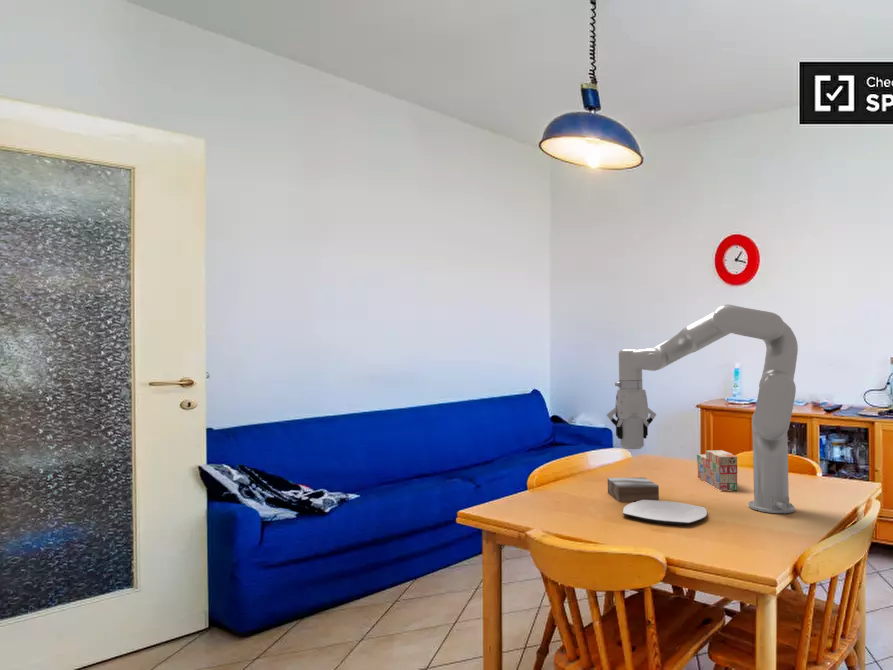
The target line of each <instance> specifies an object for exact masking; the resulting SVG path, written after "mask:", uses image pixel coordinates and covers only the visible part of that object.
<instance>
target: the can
mask: <svg viewBox="0 0 893 670" xmlns="http://www.w3.org/2000/svg"><path fill="white" fill-rule="evenodd" d="M621 427H622V439H620V446H621V447H622V448H623V449H626V450H641V449H642V448H643V447H644V444H645V441H644V439H645V438H644V433H643V420H642V419H641V417H639V416H637V413H634V414H632V416H630V417H628V418H627V419H626V420H623V422H622V424H621Z"/></svg>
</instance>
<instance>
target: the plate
mask: <svg viewBox="0 0 893 670" xmlns="http://www.w3.org/2000/svg"><path fill="white" fill-rule="evenodd" d="M622 514H623V515H626V516H630V517H632V518H635V519H639V520H642V521H646V522H653V523H661V524H667V523H668V524H669V525H679V526H680V525H687V524H691V523H694V522H698V521H700V520H703V519H704V518H706V517H707V515H708V512H707V509H706V507H703V506H698V505H695V504H694V505H693V504H689V503H684V502H678V501H669V500H667V501H665V500H659V501H657V500H640V501H636V502H630V503H628V504H626V505H625V506H624V507H623V509H622Z"/></svg>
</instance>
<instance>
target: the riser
mask: <svg viewBox="0 0 893 670" xmlns="http://www.w3.org/2000/svg"><path fill="white" fill-rule="evenodd" d="M659 487H660V486H659V484H657V483H655V482H653V481H652V480H650V479H648V478H647V477H607V493H608V494H609V495H610V496H611V497H613V498H614V499H615V500H616V501H617V502H619V503H623V502H624V503H625V502H626V503H627V502H628V503H629V502H630V503H633V502H632V501H640V500H657V501H660V496H659V495H660V494H659V493H660V489H659Z"/></svg>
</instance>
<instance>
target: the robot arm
mask: <svg viewBox="0 0 893 670" xmlns="http://www.w3.org/2000/svg"><path fill="white" fill-rule="evenodd" d="M730 334H734V335H738V336H743V337H748V338H754V339H758V340H762V341H763V342H764V344H765V346H766V353H765V358H764V364H763V369H762V375H761V378H760V381H759V382H758V383H759V384H758V394H757V400H756V405H755V410H754V412H753V414H752V418H751V426H752V427H751V428H752V461H753V463H752V465H753V467H752V468H753V500H751V501H748V507H749V508H750V509H752V510H753V511H754V510H755V511H757V510H758V511H757V512H763V513H768V514H769V513H771V514H791V513H794V512H795V511H796V507H795V505H794V504H792V503H791V502H790V496H789V495H790V494H789V493H790V490H789V485H790V484H789V446H788V445H789V444H788V431H789V429H790V424H791V419H792V414H793V409H794V404H795V399H796V392H797V390H796V387H797V386H796V384H795V383H796V382H795V381H794V380H795V373H796V368H797V367H796V366H797V359H798V353H799V352H798V351H799V350H798V349H799V346H798V341H797V337H796V335H795V334H794V331H793V329H792V328H791V327H790V326H789V325H788V324H787V323H786V322H785V321H784V319H782V317H781V315H779V314H777V313H774V312H772V311H766V310H760V309H754V308H749V307H744V306H740V305H734V304H723V305H721V306H719V307H717V308H716V309H715V310H714V311H712V312H710V313H708V314H706V315H705V316H703V317H701V318H700V319H698V320H696V321H693V322H692V323H690V324H688V325H687V326H685V327H683V328H682V329H681V330H680V331H679V332H678V333H677V334H675V335H674V336H672V337H670V338H669V339H667V340H665V341H664V342H662V343H660V344H658V345H656V346H654V347H650V348H644V349H643V348H642V349H639V348H622V349H620V350H619V351H618V381H617V382H614V386H615V387H618V389H617V391H616V397H615V407H614V408H613V409H611V410H610V411H609V412H608V413H607V414H606V417H607V418H608V419H609V421H610V422H611V423H612V424H613V425H614V426H615V436H616V437H617V439H622V427H621V424H622V422H623V420H626V419H627V418H628V417H630V416H632V414H634V413H637V416H639V417H641V419H642V420H643V433H644V439H647V437H648V433H649V431H648V430H649V429H648V427H649V426H650V425H651V423H652V422H653V420H654V419H655V418H656V417H657V413H656V412H655V411H653V410H651V409H650V408H649V404H648V403H649V402H648V397H647V391H646V389H643V388H644V387H643V371H644V370H645V371H650V372H651V371H652V372H653V371H654V372H656V371H660V370H662V369H664V368H665V367H667V366H669V365H671V364H673V363H675V362H677V361H678V360H680V359H682V358H684V357H687V356H688V355H690V354H692V353H696V352H698V351H700V350H701V349H703V348H705V347H707V346H709V345H711V344H713V343H714V342H715V343H716V342H717V341H719V340H721V339H722V338H725V336H728V335H730ZM614 415H615V417H616V419H615V418H614Z"/></svg>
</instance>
